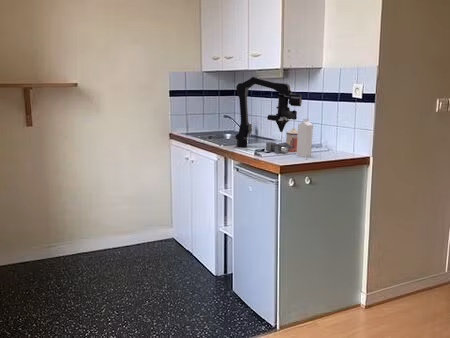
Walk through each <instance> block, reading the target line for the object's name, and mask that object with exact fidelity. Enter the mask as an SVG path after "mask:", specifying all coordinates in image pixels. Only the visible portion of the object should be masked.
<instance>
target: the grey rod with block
mask: <svg viewBox="0 0 450 338" xmlns="http://www.w3.org/2000/svg"><path fill="white" fill-rule="evenodd" d="M275 144H277V143H276V142H273V141H268V142H266V143H265V150H266V151H268V152H275ZM280 151H281V152H287V151H288V148H286V147H283V146H280Z"/></svg>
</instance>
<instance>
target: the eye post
mask: <svg viewBox="0 0 450 338" xmlns="http://www.w3.org/2000/svg"><path fill="white" fill-rule="evenodd" d="M280 146H282V147H286V148H288V147H289V145H288V144H287V143H286V142H282V143H276V144H275V151H274V154H277V155H278V154H285V153H289V152H288V151H287V152H281V151H280Z"/></svg>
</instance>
